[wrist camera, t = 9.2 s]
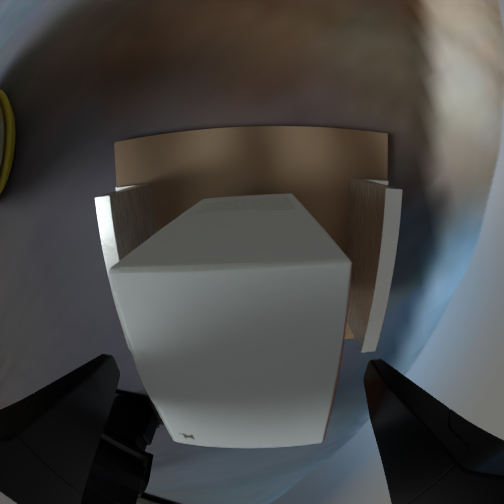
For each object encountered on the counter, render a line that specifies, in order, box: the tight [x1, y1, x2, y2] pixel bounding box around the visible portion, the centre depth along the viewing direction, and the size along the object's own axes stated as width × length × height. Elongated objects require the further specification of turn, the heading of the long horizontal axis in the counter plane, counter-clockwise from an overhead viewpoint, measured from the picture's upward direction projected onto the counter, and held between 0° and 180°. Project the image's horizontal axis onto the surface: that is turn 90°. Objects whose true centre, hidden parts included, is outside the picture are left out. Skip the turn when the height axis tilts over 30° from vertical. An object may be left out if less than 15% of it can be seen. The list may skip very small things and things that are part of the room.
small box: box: [109, 193, 352, 448], centre depth 13 cm, size 8×6×13 cm
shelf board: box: [114, 126, 388, 339], centre depth 20 cm, size 20×17×1 cm
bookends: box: [95, 178, 402, 353], centre depth 17 cm, size 20×10×6 cm, turn 92°
